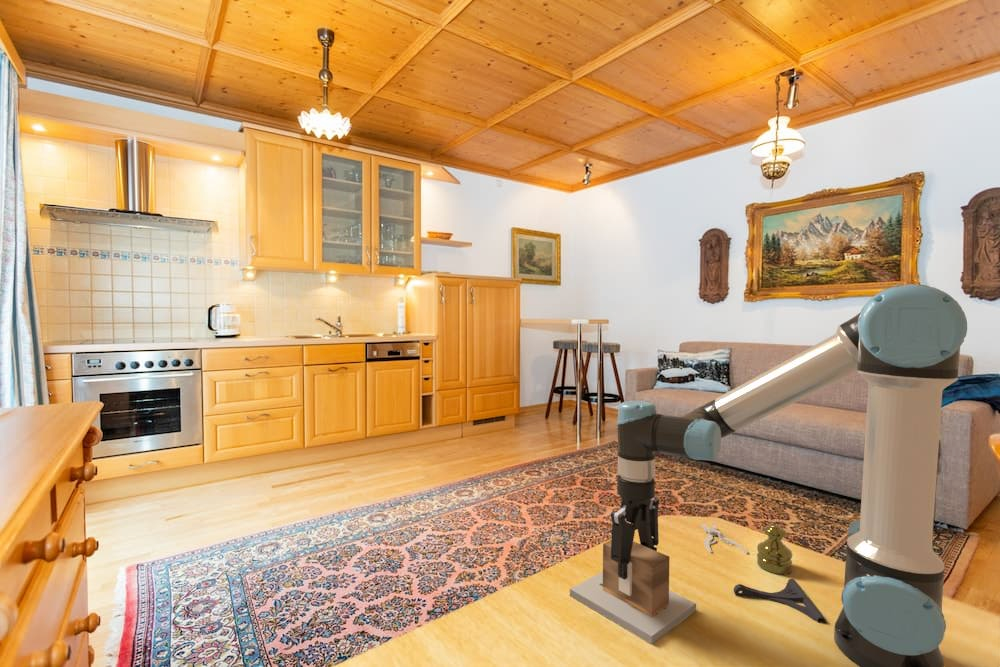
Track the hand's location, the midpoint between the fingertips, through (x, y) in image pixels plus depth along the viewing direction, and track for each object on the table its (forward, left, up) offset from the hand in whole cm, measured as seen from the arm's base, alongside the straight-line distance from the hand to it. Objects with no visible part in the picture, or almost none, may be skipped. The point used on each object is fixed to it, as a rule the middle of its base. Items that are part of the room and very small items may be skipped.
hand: (635, 586), depth 100 cm
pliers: (+3, -42, -4) cm, 43 cm away
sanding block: (0, 0, -2) cm, 2 cm away
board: (+1, 0, -4) cm, 4 cm away
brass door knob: (-12, -39, -4) cm, 41 cm away
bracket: (-17, -25, -5) cm, 31 cm away
